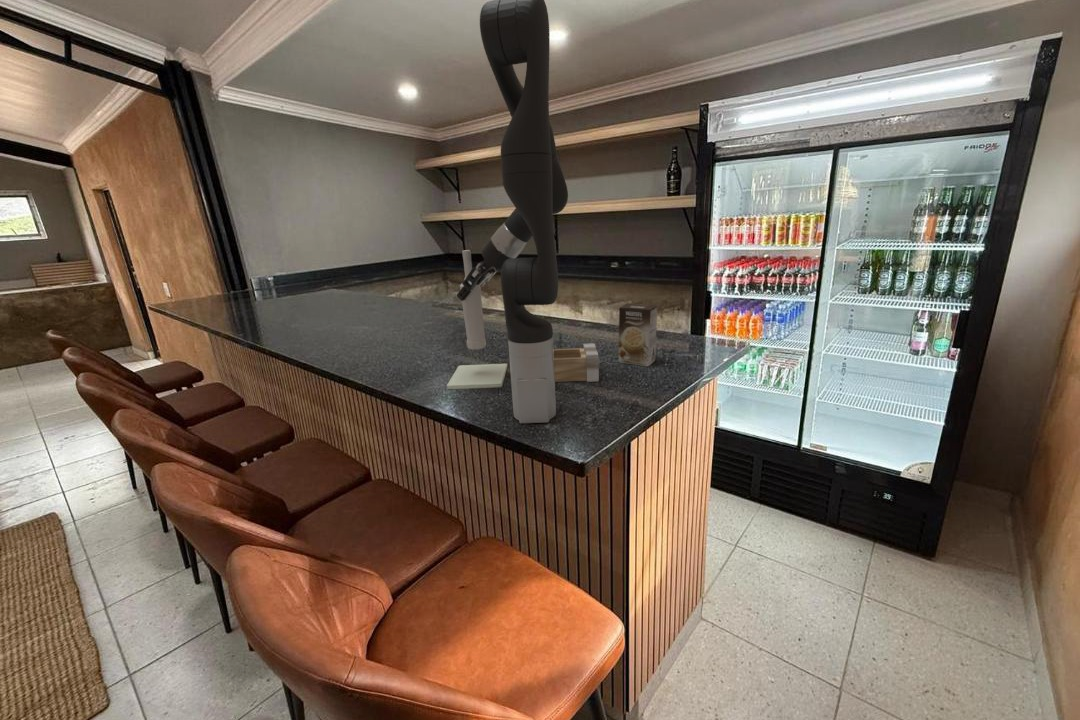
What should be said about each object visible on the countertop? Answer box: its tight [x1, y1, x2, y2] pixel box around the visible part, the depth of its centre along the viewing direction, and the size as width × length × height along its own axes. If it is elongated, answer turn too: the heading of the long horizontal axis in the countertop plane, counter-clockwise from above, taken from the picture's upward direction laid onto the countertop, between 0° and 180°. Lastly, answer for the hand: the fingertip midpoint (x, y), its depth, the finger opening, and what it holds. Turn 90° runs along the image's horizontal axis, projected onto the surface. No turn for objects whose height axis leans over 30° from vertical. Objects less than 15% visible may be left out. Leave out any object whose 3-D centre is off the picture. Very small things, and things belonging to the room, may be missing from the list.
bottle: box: [459, 249, 487, 350], centre depth 115 cm, size 5×5×25 cm
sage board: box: [446, 363, 508, 390], centre depth 121 cm, size 16×14×1 cm
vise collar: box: [553, 342, 600, 383], centre depth 119 cm, size 12×15×7 cm
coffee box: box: [618, 302, 658, 367], centre depth 125 cm, size 9×6×16 cm
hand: (464, 295), depth 115 cm, fingers closed on bottle, 5 cm apart
